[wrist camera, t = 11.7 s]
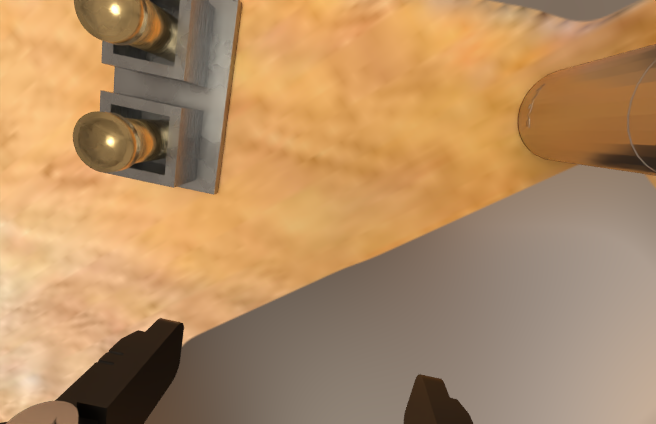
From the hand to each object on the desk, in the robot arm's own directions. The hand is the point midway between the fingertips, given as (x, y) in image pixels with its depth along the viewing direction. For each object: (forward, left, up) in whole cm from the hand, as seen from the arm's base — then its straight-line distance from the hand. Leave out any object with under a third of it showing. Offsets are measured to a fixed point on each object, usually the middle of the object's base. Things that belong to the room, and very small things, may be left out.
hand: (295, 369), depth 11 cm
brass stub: (+19, -3, -27) cm, 33 cm away
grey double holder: (+19, -8, -28) cm, 35 cm away
